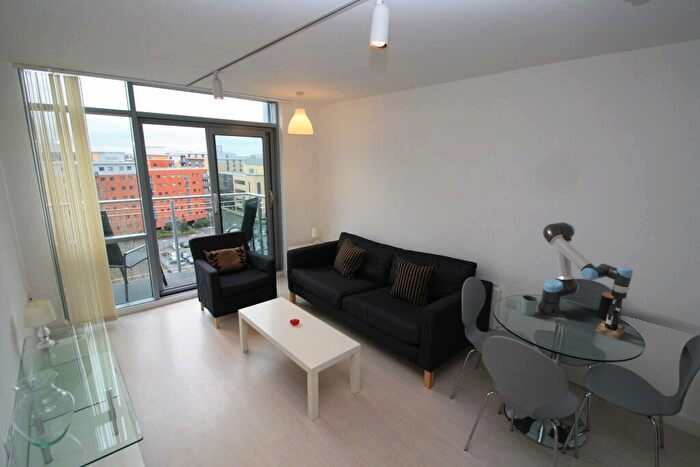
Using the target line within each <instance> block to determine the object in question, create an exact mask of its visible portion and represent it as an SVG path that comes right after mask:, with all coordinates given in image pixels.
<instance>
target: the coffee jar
mask: <svg viewBox="0 0 700 467" xmlns="http://www.w3.org/2000/svg"><path fill="white" fill-rule="evenodd" d="M601 293H602V294H601V296H600V301H599V304H598V309H597V317H598V316H599V317H600V319H601V318H602V319H601V320H602V321H605V320H606V315H607V314H606V313H608V310H609V307H610V305H611V302H612V299H613V298H614V297H613V296H612V295H611V291H607V290H606V291H602V292H601ZM599 317H598V318H599Z"/></svg>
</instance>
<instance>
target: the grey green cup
mask: <svg viewBox="0 0 700 467" xmlns="http://www.w3.org/2000/svg"><path fill="white" fill-rule="evenodd" d="M538 304H539V299H538V297H537V296H534V295H530V294H525V295H522V296H521V313H522V314H523V315H525V316H528V317H529V316H530V317H532V316H535V315H536V311H537V305H538Z"/></svg>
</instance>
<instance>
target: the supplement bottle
mask: <svg viewBox="0 0 700 467" xmlns="http://www.w3.org/2000/svg"><path fill="white" fill-rule="evenodd" d="M606 319H607V315H606ZM620 320H621V316H620V311H617V310H615V312H614V314H613V319H612V323H611V325H610V324H607V323H606V320H604V321H605V324H604V326H605V327H606V328H608V329H611V330H617V328H618V326H619V323H620Z"/></svg>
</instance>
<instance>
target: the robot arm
mask: <svg viewBox="0 0 700 467" xmlns="http://www.w3.org/2000/svg"><path fill="white" fill-rule="evenodd" d="M575 231H576V230H575V227H574V225H572V224H571V223H569V222H566V221H565V222H561V221H560V222H555V223H550V224H547V225H546V226H544V228H543V230H542V235H543V238H544V239H545V241H546V242H547V243H548V244H549V245H551V246H554V248H555V255H556V256H555V257H556V264H557V266H556V267H557V276H555V279H552V278H551V279H546V280H545V281H544V283H543V287H542V292H541V299H540V301H538V303H537V306H536V311H537V312H539V313H540V314H541V315H545V316H548V317H559V316H561V314H562V308H561V304H560V303H561V299H562V298H566V297H570V296H573V295H576V294H577V293H578V292H579V290H580V285H579V282H577V280H576V279H575V276H573V272H572V271H573V270H572V264H573V265H574V266H575V267H576V268H577V269H578V270H579V271H580V272H581V276H582V278H583V279H584V280H586V281H594V280H598V279H602V278H608V279H610V280H613V284H612V287H611V288H612V289H611V291H610V292H611V295H612V296H613V297H614V298H613V299H612V302H611V305H610V307H609V310H608V313H606V314H607V319H606V323H607V324H610V325H611V323H612V319H613V314H614V312H615V310H617V311H619V312H620V310H621V309H622V308H623V300H624V299H626V298H627V295H628V291H629V290H630V284H631V280H632V278H633V272H634V270H633V269H632V268H631V267H627V266H624V265H623V266H622V265H621V266H620V265H619V266H618V267H615V266H612V265H610V264H606V263H602V262H597V264H595V265H594V264H593V263H592V262H590V261H589V260H588V259H587V258H586V257H584V256H583V254H581V252H579V251H578V250H577V249H576V248H574V246H572V244H570V243H571V242H572V237H573V236H574V235H575V233H576V232H575Z"/></svg>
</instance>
